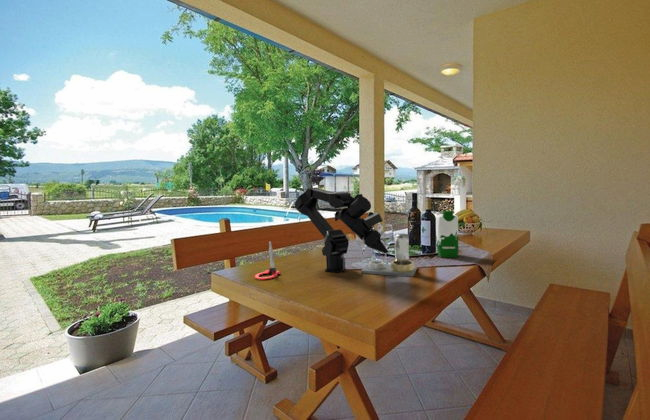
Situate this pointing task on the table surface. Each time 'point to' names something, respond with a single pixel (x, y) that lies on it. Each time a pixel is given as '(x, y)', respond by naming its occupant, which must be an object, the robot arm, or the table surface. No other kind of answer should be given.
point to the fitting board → (387, 271)
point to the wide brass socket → (402, 267)
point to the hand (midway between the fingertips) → (384, 249)
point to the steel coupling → (401, 249)
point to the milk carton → (447, 234)
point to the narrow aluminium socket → (376, 265)
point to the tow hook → (271, 269)
